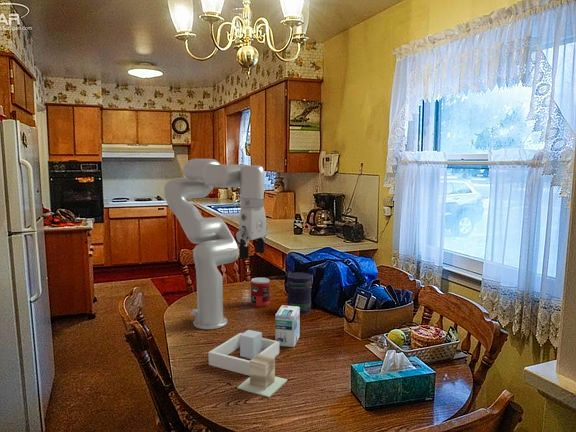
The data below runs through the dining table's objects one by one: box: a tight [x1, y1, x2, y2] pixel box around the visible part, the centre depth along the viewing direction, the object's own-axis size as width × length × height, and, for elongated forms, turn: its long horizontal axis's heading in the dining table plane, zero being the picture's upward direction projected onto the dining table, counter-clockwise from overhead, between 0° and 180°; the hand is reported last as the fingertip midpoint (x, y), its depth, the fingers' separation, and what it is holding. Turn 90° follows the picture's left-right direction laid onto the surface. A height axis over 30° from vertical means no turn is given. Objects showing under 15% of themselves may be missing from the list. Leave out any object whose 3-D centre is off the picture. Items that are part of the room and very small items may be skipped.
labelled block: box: [249, 354, 276, 389], centre depth 121 cm, size 5×5×7 cm
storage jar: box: [286, 271, 312, 316], centre depth 181 cm, size 10×10×15 cm
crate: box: [207, 332, 280, 377], centre depth 137 cm, size 15×17×4 cm
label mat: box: [236, 375, 288, 398], centre depth 122 cm, size 10×10×1 cm
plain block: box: [239, 329, 263, 360], centre depth 140 cm, size 5×5×7 cm
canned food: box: [250, 277, 271, 308], centre depth 189 cm, size 8×8×11 cm
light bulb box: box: [274, 304, 301, 348], centre depth 151 cm, size 11×7×11 cm, turn 169°
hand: (252, 255), depth 145 cm, fingers open, 9 cm apart
